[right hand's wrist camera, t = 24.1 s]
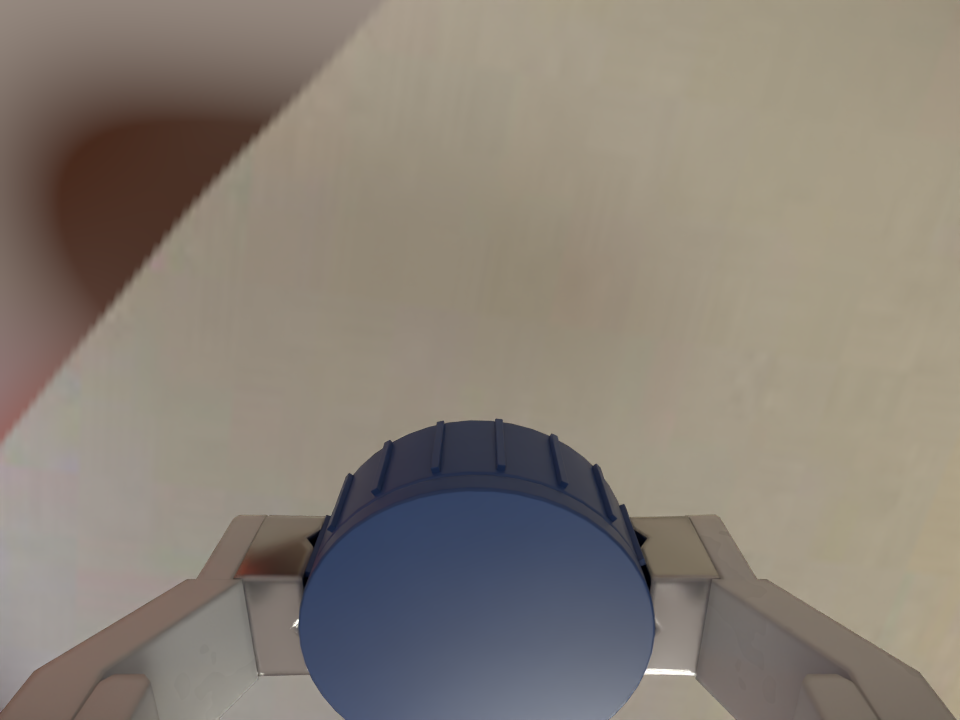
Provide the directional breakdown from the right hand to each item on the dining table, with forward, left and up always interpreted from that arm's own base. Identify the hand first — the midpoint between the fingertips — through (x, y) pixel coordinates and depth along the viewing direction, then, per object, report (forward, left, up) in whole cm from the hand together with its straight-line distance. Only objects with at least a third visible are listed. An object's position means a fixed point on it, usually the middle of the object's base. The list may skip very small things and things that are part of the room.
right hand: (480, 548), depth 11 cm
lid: (0, 0, +2) cm, 2 cm away
